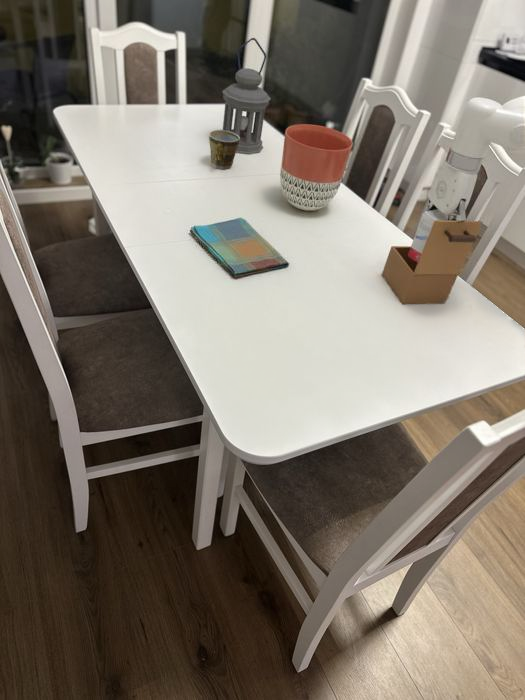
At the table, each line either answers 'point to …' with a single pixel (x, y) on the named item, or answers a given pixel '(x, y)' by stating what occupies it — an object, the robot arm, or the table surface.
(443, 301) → the carton
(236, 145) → the ceramic cup
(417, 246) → the ink box
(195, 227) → the dish towel
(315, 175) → the planter
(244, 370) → the table surface
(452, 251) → the flap
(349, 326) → the table surface
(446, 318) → the table surface
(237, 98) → the lantern
